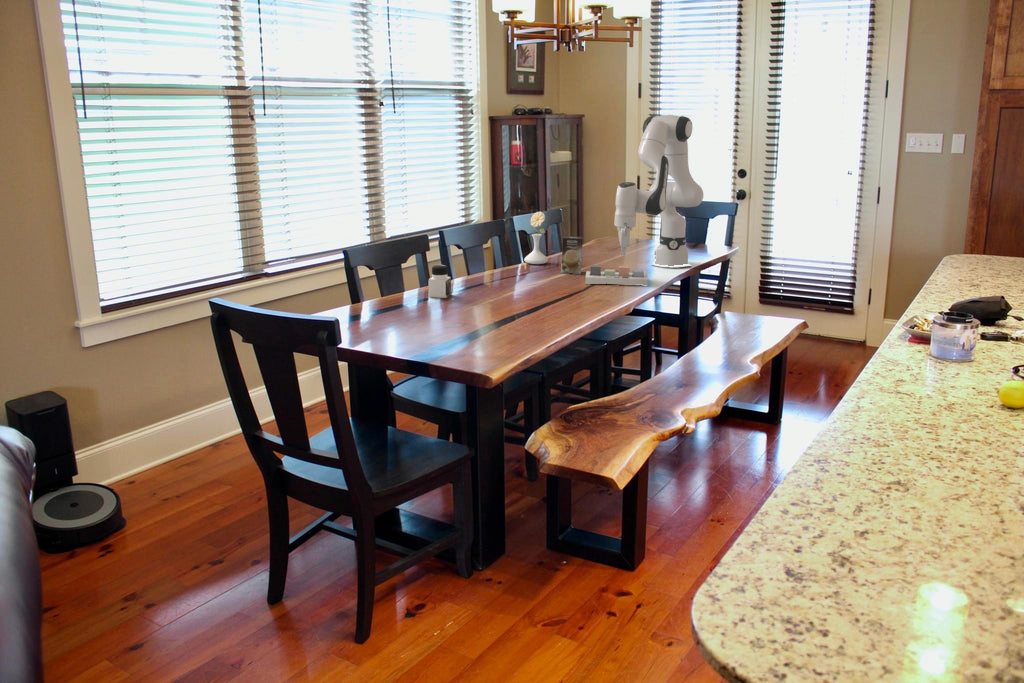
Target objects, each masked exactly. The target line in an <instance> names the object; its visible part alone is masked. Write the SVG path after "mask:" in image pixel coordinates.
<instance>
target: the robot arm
mask: <svg viewBox="0 0 1024 683" xmlns="http://www.w3.org/2000/svg"><path fill="white" fill-rule="evenodd" d="M642 133H643V134H642V136H641V139H640V143H639V146H638V150H637V154H638V155H637V156H638V158H639V159H640V161H641V162H642V163H643V164H644V165H646V166H647V167H649V168H651V169H653V170H655V172H656V174H655V180H654V181H655V182H653V183H652V184H651V186H650V187H649V189H648V190H644V189H643V190H642V189H639V188H637V184H636V183H635V182H632V181H627V182H625V181H624V182H621V183H619V184H618V185H617V189H616V194H615V212H614V223H613V226H615V227H616V230H617V232H618V234H617V235H618V241H619V244H620V249H621V250H620V254H621V256H626V252H627V248H629V247H630V237H631V231H633V228H635V227H636V220H637V214H645V215H651V216H658V215H660V219H661V222H660V223H661V224H660V225H661V226H660V227H661V229H660V230H661V232H660V233H661V234H660V236H659V245H658V246H657V247H656V249H655V250H654V260H655V259H656V261H655V264H659V265H668V266H674V265H683V264H688V263H689V248H688V247H687V246H686V242H687V237H686V227H687V221H686V218H685V217H684V216H683V215H681V214H679V213H678V212H677V209H676V207H678V208H679V207H680V208H693V207H699V205H700V204H702V202H703V199H704V190H703V189H702V187H701V185H699V184H698V183H697V181H695V180H694V178H693V176H692V175H691V172H690V168H689V166H690V165H689V147H688V145H689V144H688V140H689V138H690V137H691V135H692V133H693V122H692V120H691V119H690V118H689V117H687V116H684V115H681V116H680V115H673V114H672V115H671V114H667V115H650V116H648V117H646V118H645V120H644V121H643V123H642ZM669 176H670V178H672V180H673V181H668V178H669Z"/></svg>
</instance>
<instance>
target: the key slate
mask: <svg viewBox="0 0 1024 683" xmlns="http://www.w3.org/2000/svg"><path fill="white" fill-rule="evenodd" d="M632 273H633V277H643V275H644V273H645V272H644V270H641V269H640V270H638V269H637V270H636V269H635V270H632Z"/></svg>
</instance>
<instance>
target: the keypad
mask: <svg viewBox="0 0 1024 683" xmlns="http://www.w3.org/2000/svg"><path fill="white" fill-rule="evenodd" d="M604 272H605V271H601V276H593V275H590V270H586V272H585V280H584V281H585V283H584V284H585V285H590V284H606V283H607V284H643V285H648V286H649V278H648V273H647V272H644V275H643V277H633V272H629V277H628V276H618V274H619V271H615V276H604Z"/></svg>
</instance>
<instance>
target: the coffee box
mask: <svg viewBox="0 0 1024 683" xmlns="http://www.w3.org/2000/svg"><path fill="white" fill-rule="evenodd" d="M561 245H562V246H561V261H560V262H561V263H560V264H561V265H560V274H565V273H573V274H572V275H581V274H582V263H583V262H582V261H583V259H582V258H583V236H576V235H575V236H573V235H571V236H570V235H562V244H561Z"/></svg>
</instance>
